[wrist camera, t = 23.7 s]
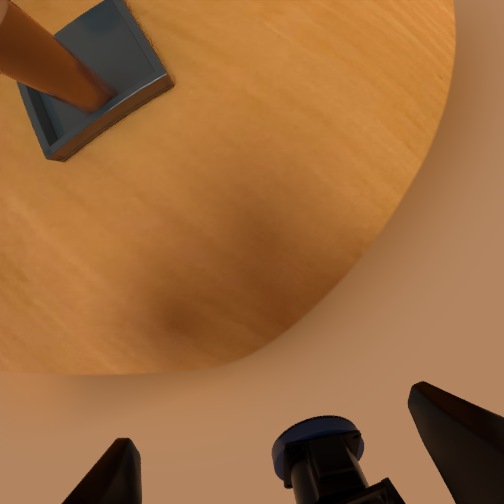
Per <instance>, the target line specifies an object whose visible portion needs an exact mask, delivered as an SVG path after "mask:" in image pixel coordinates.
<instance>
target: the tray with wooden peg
mask: <svg viewBox="0 0 504 504" xmlns="http://www.w3.org/2000/svg"><path fill="white" fill-rule="evenodd" d="M0 73H1V74H3V75H6V76H8V77H10V78H12V79H14V80H16V81H17V84H18V87H19V90H20V93H21V96H22V99H23V102H24V105H25V107H26V110H27V113H28V116H29V118H30V121H31V123H32V126H33V128H34V131H35V133H36V136H37V138H38V141H39V143H40V146H41V148H42V150H43V153H44V155H45V157H46V159H47V160H54V161H61V162H64V161H66V160H67V159H68V158H69V157H71V156H72V155H73V154H74V153H76V152H77V151H78V150H79V149H81V148H82V147H83V146H85V145H86V144H87V143H88V142H90V141H91V140H92V139H94V138H95V137H97V136H98V135H99V134H101V133H102V132H103V131H105V130H106V129H108V128H109V127H110V126H112V125H113V124H115V123H116V122H118V121H119V120H121V119H122V118H124V117H125V116H127V115H128V114H130V113H131V112H133V111H134V110H136V109H137V108H139V107H140V106H142V105H144V104H145V103H147V102H148V101H150V100H152V99H153V98H155V97H157V96H158V95H160V94H162V93H163V92H165V91H167V90H168V89H170V88H172V87H174V85H173V83H172V81H171V79H170V77H169V75H168V73H167V71H166V70H165V68H164V67H163V65H162V63H161V62H160V60H159V58H158V57H157V55H156V53H155V52H154V50H153V48H152V47H151V45H150V43H149V42H148V40H147V39H146V37H145V35H144V34H143V32H142V30H141V29H140V27H139V25H138V24H137V22H136V21H135V19H134V17H133V16H132V14H131V12H130V11H129V9H128V8H127V6H126V4H125V3H124V1H123V0H104V1H102V2H101V3H99V4H98V5H96V6H94V7H93V8H91V9H90V10H88V11H87V12H85V13H84V14H82V15H81V16H79V17H78V18H76V19H75V20H73V21H72V22H71V23H69V24H68V25H67V26H65V27H64V28H62V29H61V30H60V31H58V32H57V33H56V34H54V35H52V34H51V33H50V32H48V31H47V30H46V29H45V28H44V27H42V26H41V25H40V24H39V23H38V22H36V21H35V20H34V19H33V18H31V17H30V16H29V15H28V14H27V13H25V12H24V11H23V10H22V9H20V8H19V7H18V6H17V5H15V4H14V3H13V2H12V1H10V0H0Z"/></svg>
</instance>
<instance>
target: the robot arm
mask: <svg viewBox="0 0 504 504" xmlns="http://www.w3.org/2000/svg"><path fill="white" fill-rule="evenodd" d="M408 408H409V410H410V413H411V415H412V417H413V420H414V422H415V424H416V427H417V429H418V432H419V434H420V437H421V439H422V441H423V443H424V445H425V447H426V449H427V450H428V452H429V454H430V456H431V457H432V460H433V461H434V463H435V465H436V467H437V468H438V470H439V472H440V474H441V476H442V478H443V480H444V482H445V484H446V485H447V487H448V489H449V491H450V493H451V495H452V497H453V499H454V501H455V503H456V504H504V417H502V416H500V415H497V414H495V413H492V412H490V411H488V410H486V409H483V408H481V407H479V406H477V405H474V404H472V403H470V402H468V401H466V400H463V399H461V398H459V397H457V396H455V395H452V394H450V393H448V392H446V391H444V390H442V389H439V388H437V387H435V386H433V385H431V384H429V383H427V382H424V381H422V382H419V383H416V384H414V385H413V386H412V388H411V391H410V395H409V399H408ZM354 435H355V436H354ZM360 439H361V433H360V431H359V430H352V431H347V432H343V433H338V434H333V435H328V436H323V437H317V438H312V439H306V440H299V441H292V442H287V443H285V444H284V446H283V465H284V487H285V488H287V489H290V488H293V490H294V494H295V499H296V503H297V504H405V502H404V501H403V499H402V498H401V496H400V495H399V493H398V492H397V490H396V489H395V487H394V486H393V484H392V483H391V481H390V480H389V478H388V477H387V478H385V479H383V480H381V482H379V483H377V484H374V485H372V486H370V487H369V485H368V483H367V481H366V478H365V476H364V474H363V472H362V470H361V468H360V466H359V463H358V461H357V459H356V458H357V454H358V449H359V444H360ZM289 447H291V448H289ZM141 487H142V486H141V458H140V454H139V452H138V450H137V449H136V447H135V445H134V444H133V442H132V440H131V439H129V438H117V439H116V440H115V441H114V442H113V444H112V445H111V446H110V447H109V448H108V450H107V451H106V452H105V453H104V454H103V455H102V457H101V458H100V459H99V460H98V461H97V463H96V464H95V465H94V466H93V467H92V469H91V470H90V471H89V472H88V473H87V474H86V476H85V477H84V478H83V479H82V481H81V482H80V483H79V484H78V485H77V486H76V488H75V489H74V490H73V491H72V492H71V494H69V496H68V497H67V498H66V499H65V500H64V502H63V503H62V504H142V488H141Z"/></svg>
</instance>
